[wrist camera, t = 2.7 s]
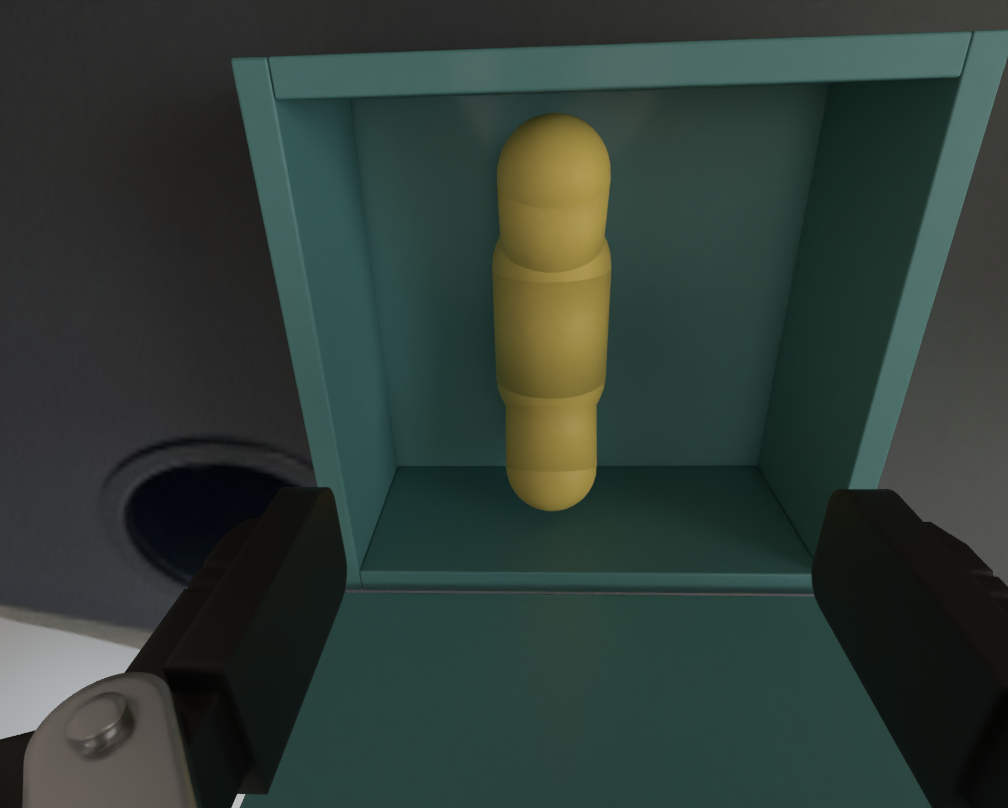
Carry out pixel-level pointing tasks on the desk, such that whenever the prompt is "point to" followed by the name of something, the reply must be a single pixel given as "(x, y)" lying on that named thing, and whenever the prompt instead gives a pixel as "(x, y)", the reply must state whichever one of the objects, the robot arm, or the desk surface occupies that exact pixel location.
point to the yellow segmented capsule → (552, 305)
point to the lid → (586, 707)
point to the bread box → (616, 292)
